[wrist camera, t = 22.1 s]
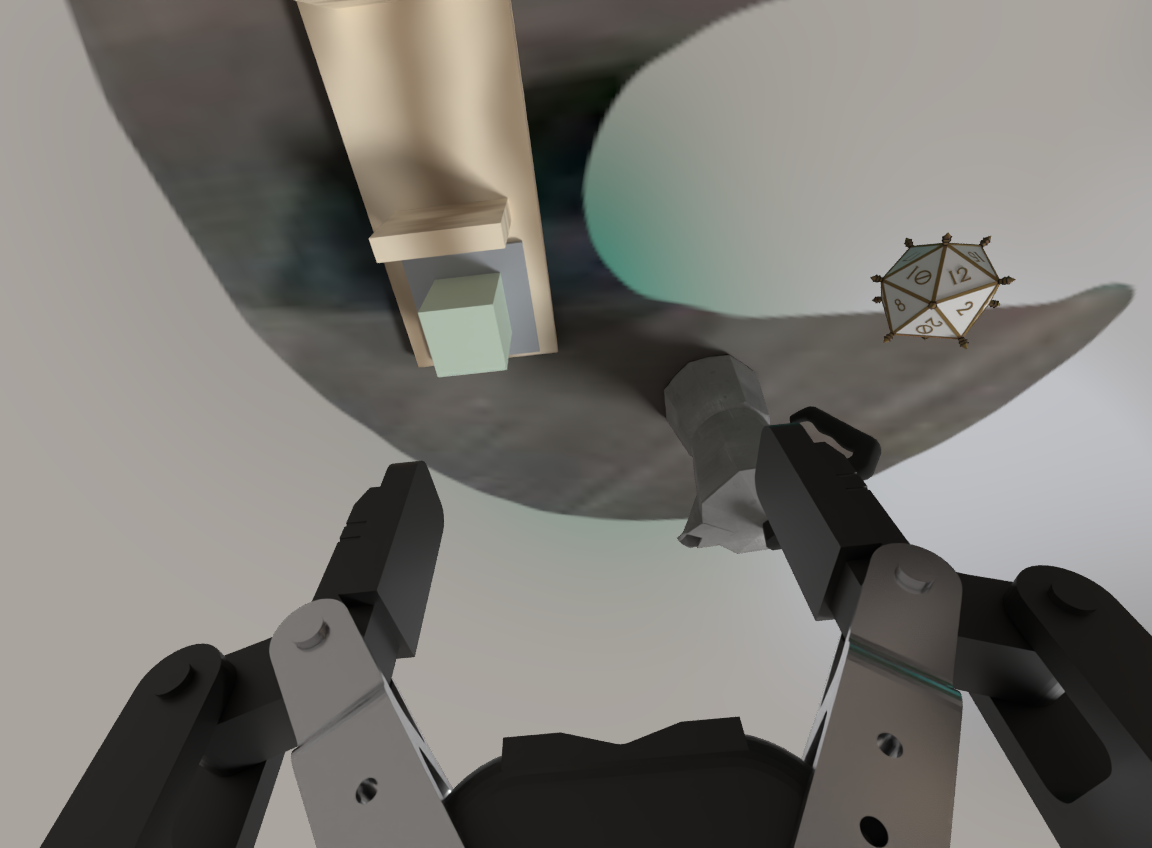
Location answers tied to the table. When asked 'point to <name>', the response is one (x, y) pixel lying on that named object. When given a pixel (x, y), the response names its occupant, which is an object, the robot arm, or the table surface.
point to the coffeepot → (738, 450)
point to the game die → (938, 290)
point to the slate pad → (478, 263)
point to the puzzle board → (434, 135)
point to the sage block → (467, 324)
